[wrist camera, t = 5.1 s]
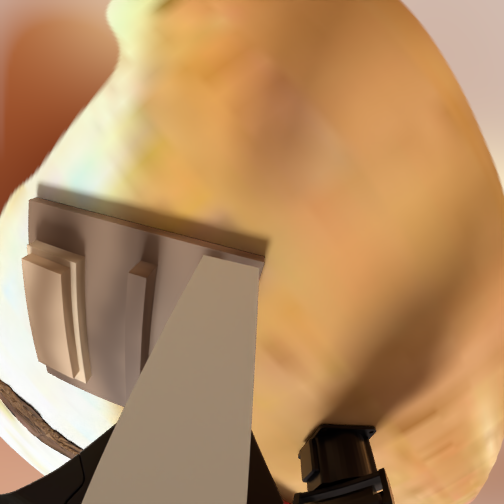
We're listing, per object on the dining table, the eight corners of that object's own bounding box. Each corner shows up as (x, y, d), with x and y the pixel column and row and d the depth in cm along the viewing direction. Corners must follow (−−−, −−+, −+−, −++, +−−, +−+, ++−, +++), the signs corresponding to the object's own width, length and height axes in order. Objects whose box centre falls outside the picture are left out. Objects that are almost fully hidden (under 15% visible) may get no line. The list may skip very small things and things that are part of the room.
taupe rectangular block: (259, 268, 10) (242, 561, 2) (224, 398, 13) (196, 576, 4) (203, 255, 10) (75, 516, 2) (183, 389, 13) (133, 561, 4)
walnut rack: (264, 256, 18) (264, 276, 16) (213, 425, 24) (208, 449, 22) (37, 197, 18) (11, 205, 15) (52, 366, 24) (38, 383, 21)
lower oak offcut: (84, 257, 18) (76, 263, 17) (91, 375, 22) (86, 383, 21) (36, 240, 18) (27, 244, 17) (50, 355, 22) (44, 362, 21)
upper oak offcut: (70, 267, 17) (60, 274, 16) (79, 370, 20) (73, 379, 19) (31, 252, 17) (21, 258, 16) (45, 353, 20) (38, 361, 19)
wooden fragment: (108, 465, 31) (106, 470, 30) (83, 469, 34) (81, 473, 33) (-19, 347, 25) (-23, 351, 24) (-24, 370, 28) (-28, 373, 27)
